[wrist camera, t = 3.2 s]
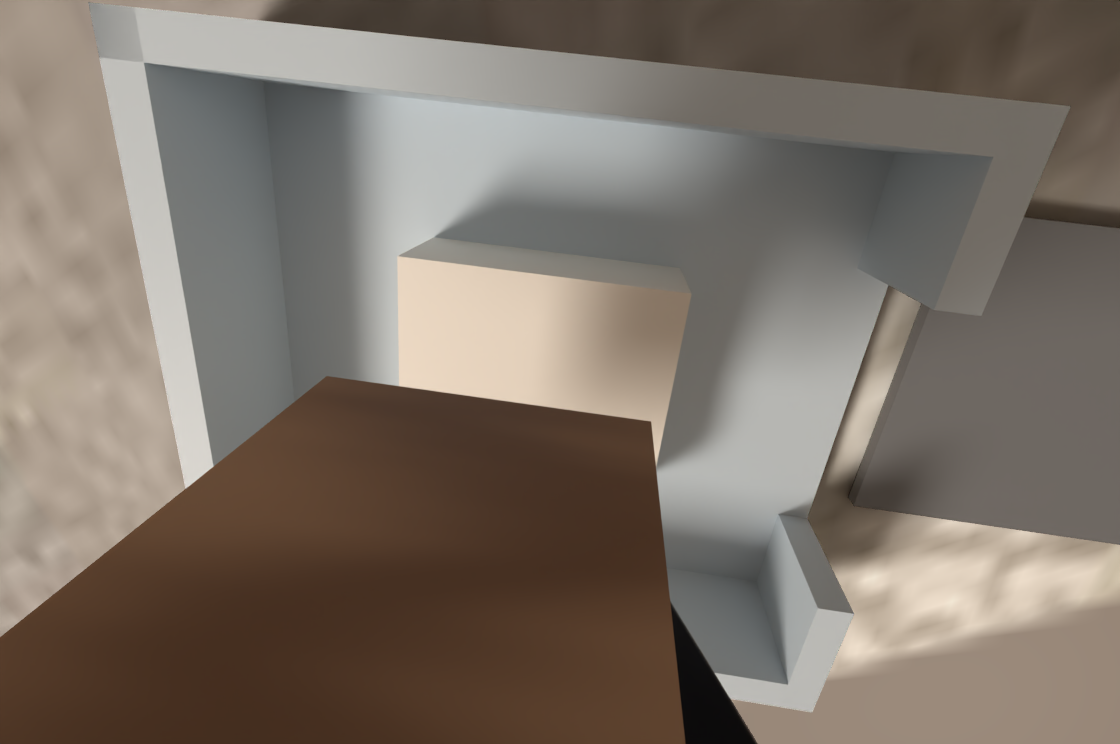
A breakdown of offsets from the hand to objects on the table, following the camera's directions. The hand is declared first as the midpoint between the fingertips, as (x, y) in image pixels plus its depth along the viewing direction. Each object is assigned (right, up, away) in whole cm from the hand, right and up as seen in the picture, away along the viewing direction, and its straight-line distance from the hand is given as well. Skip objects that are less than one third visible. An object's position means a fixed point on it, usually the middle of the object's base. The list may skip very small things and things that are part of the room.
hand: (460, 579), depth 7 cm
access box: (+1, +3, +8) cm, 8 cm away
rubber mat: (+14, +2, +6) cm, 16 cm away
